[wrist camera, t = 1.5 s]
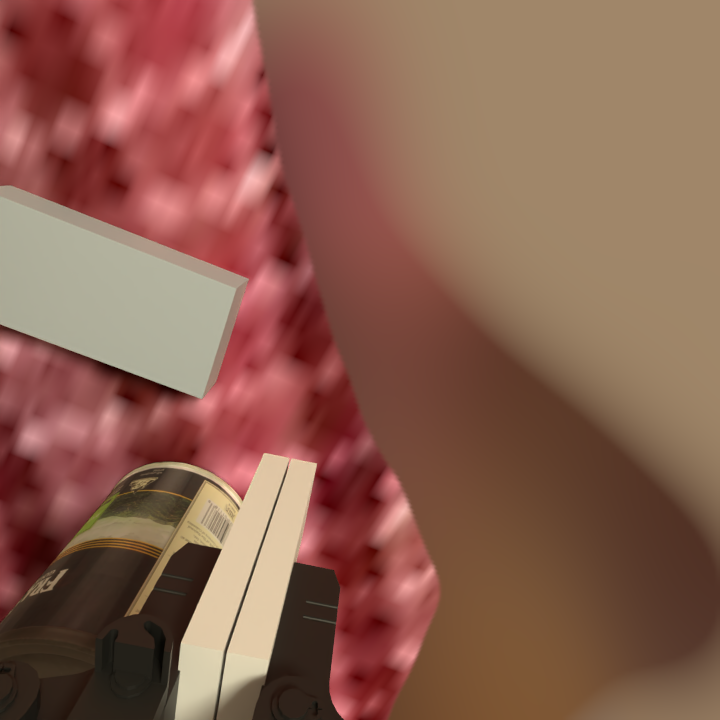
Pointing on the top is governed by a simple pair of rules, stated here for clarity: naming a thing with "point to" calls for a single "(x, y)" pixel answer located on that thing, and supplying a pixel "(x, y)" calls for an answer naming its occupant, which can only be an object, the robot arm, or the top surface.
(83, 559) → the coffee can
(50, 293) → the grey flat block
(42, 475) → the top surface
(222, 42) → the top surface
